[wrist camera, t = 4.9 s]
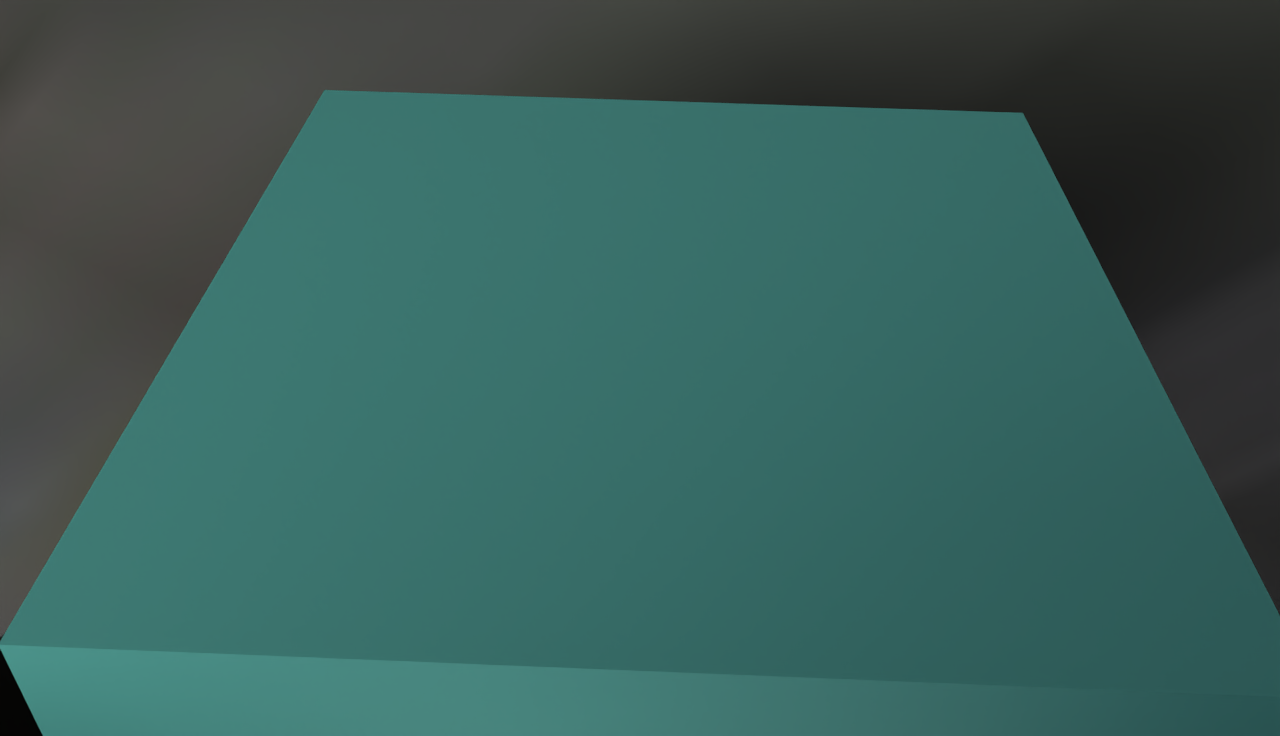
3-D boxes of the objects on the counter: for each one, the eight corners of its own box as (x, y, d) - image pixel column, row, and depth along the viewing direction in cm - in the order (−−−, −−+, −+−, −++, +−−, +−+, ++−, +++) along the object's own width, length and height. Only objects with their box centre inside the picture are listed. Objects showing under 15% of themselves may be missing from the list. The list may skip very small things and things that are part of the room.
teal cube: (1023, 112, 8) (1322, 697, 4) (909, 586, 11) (1027, 1184, 7) (324, 91, 8) (-4, 646, 4) (399, 567, 11) (246, 1147, 8)
